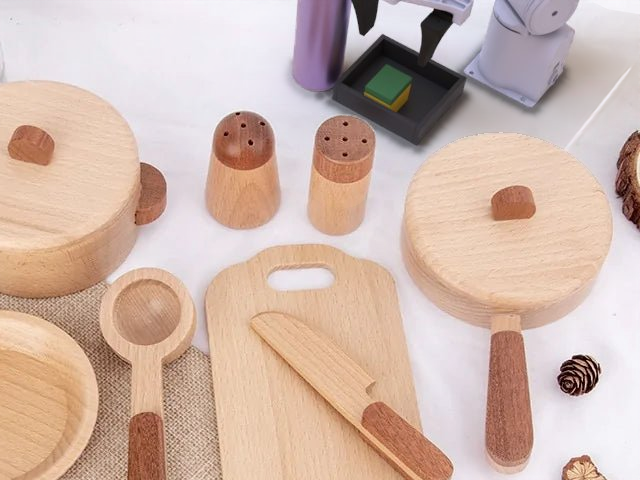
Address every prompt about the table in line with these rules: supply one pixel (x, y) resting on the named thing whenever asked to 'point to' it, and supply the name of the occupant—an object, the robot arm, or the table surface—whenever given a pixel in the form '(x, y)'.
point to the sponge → (389, 88)
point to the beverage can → (320, 42)
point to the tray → (424, 97)
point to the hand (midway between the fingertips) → (395, 45)
